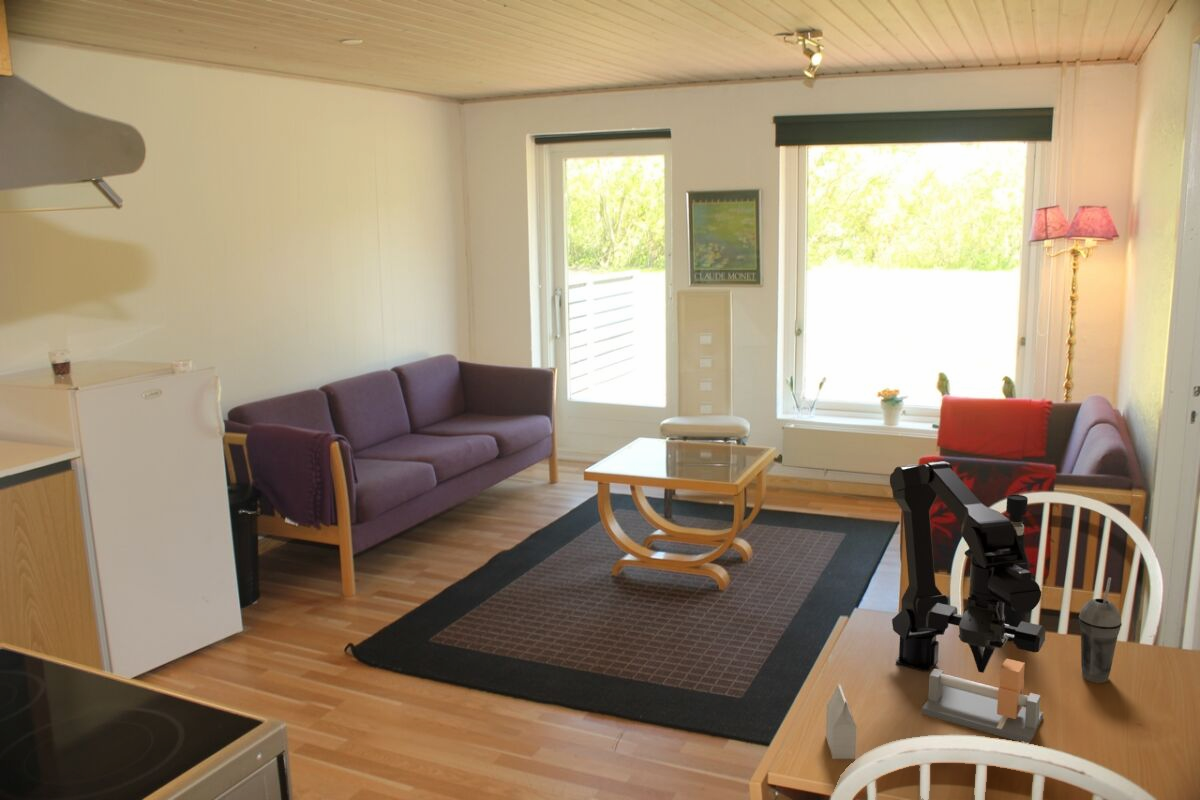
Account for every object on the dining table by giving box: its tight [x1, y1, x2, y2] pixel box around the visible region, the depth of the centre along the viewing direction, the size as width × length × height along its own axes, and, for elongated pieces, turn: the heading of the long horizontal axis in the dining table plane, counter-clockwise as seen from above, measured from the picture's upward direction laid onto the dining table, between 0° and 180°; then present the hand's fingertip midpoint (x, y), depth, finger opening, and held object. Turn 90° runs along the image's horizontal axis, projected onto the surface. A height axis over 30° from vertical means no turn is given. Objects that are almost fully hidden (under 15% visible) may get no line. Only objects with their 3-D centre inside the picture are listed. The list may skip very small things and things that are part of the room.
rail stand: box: [921, 668, 1044, 744], centre depth 172 cm, size 18×10×6 cm, turn 55°
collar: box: [997, 658, 1026, 719], centre depth 169 cm, size 3×5×8 cm, turn 145°
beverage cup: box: [1078, 576, 1122, 684], centre depth 183 cm, size 7×7×20 cm
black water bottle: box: [999, 493, 1030, 642], centre depth 200 cm, size 6×6×30 cm
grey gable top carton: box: [825, 683, 857, 760], centre depth 163 cm, size 4×7×10 cm, turn 176°
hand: (981, 671), depth 171 cm, fingers closed
